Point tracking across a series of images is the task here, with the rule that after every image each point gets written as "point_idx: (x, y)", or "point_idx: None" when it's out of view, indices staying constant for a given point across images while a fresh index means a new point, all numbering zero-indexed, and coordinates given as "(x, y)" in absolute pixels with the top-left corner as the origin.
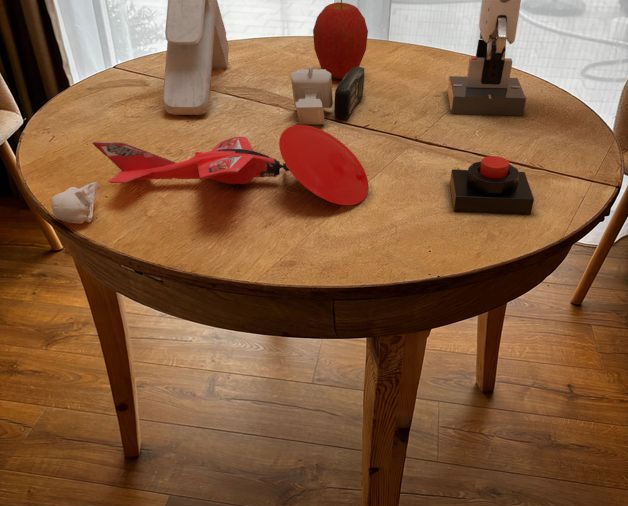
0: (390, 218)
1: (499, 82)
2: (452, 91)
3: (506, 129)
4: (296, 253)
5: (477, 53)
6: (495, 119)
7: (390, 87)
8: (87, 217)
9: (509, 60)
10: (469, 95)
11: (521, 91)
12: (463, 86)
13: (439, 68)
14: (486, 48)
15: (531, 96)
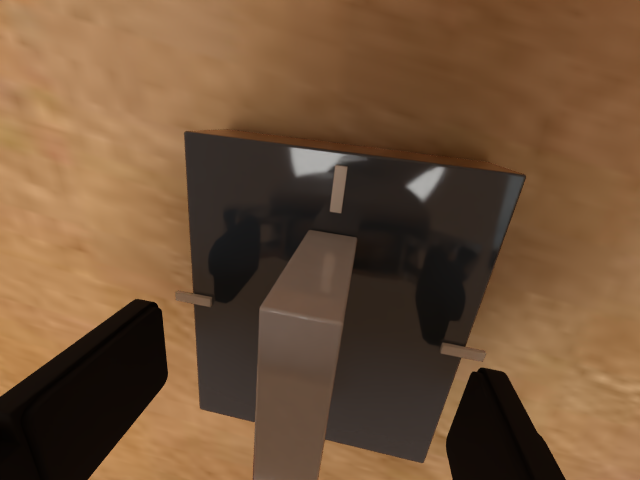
0: None
1: (504, 381)
2: (367, 449)
3: (622, 274)
4: None
5: (125, 427)
6: (497, 284)
7: (199, 471)
8: None
9: (319, 341)
10: (426, 415)
11: (406, 171)
12: None
13: (17, 322)
14: (94, 423)
15: (238, 43)
